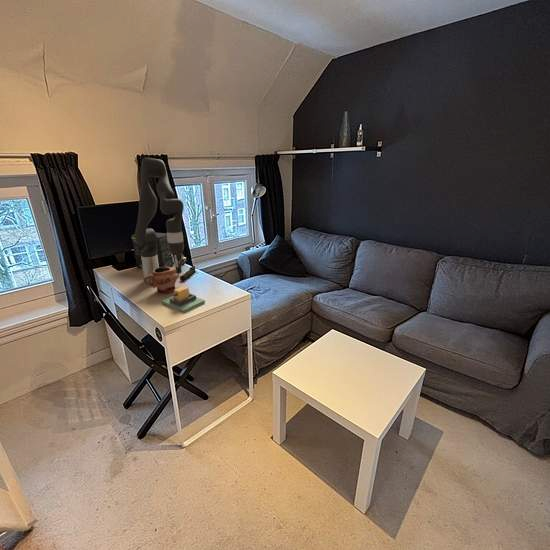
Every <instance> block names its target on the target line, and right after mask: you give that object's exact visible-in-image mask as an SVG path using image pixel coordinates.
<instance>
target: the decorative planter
mask: <svg viewBox="0 0 550 550" xmlns="http://www.w3.org/2000/svg"><path fill="white" fill-rule="evenodd" d="M180 276H181V275H180V274H177V273H176V267H173V266H172V267H161V268H156V269H154V270H153V273H152V274H151V275H147V276H145V277H144V276H143V283H144V284H145V286H149V288H153V289H154V288H155V289H156V290H157V292H158V293H159V294H162V295H164V294H170V293H173V292H174V290H175V289H176V286H175V285H176V283H177V280H178V279H180ZM149 278H151V279H152V281H153V283H152V284H148V283H146V280H147V279H149Z"/></svg>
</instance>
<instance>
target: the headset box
mask: <svg viewBox="0 0 550 550" xmlns="http://www.w3.org/2000/svg"><path fill="white" fill-rule="evenodd" d="M155 233H156V237H157V248H158V250H157V256H158V263H159V268H161V267H172V268H173V266H174V265H173V264H172V263H171V261H170V259H169V257H168V254H170V251H169V249H168V241H167V232H166V233H164V232H155ZM130 236H131V240H132V246H133V251H134V257H135V262H136V268H137V269H142V270H143V268H142V267H143V264H142V258H141V251H142V250H143V249H144V248H145V247H146V245H144V246H140V245H138V244H137V243H136V241H135V233H134V234H132V235H130Z"/></svg>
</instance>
